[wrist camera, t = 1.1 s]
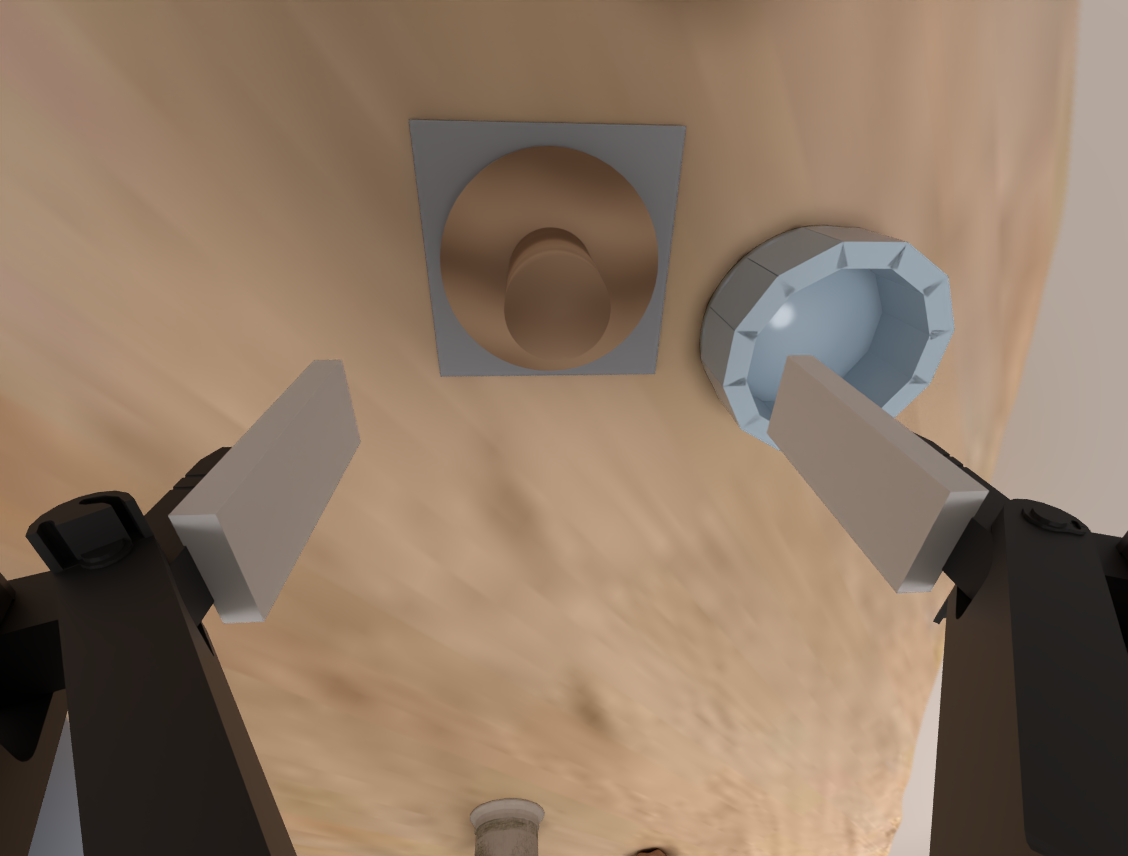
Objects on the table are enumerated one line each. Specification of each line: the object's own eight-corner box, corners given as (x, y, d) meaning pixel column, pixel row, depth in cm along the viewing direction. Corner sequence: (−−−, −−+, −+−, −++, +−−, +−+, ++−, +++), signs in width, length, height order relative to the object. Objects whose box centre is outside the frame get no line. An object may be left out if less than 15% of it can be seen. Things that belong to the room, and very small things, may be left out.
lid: (431, 143, 25) (393, 148, 18) (664, 148, 26) (719, 155, 18) (454, 361, 31) (433, 432, 24) (641, 360, 32) (675, 428, 25)
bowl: (718, 224, 28) (753, 240, 24) (925, 225, 29) (993, 242, 25) (686, 413, 35) (709, 452, 30) (855, 410, 35) (900, 448, 31)
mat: (410, 119, 25) (408, 119, 24) (683, 126, 26) (686, 125, 25) (441, 373, 32) (440, 376, 32) (653, 371, 33) (654, 374, 32)
